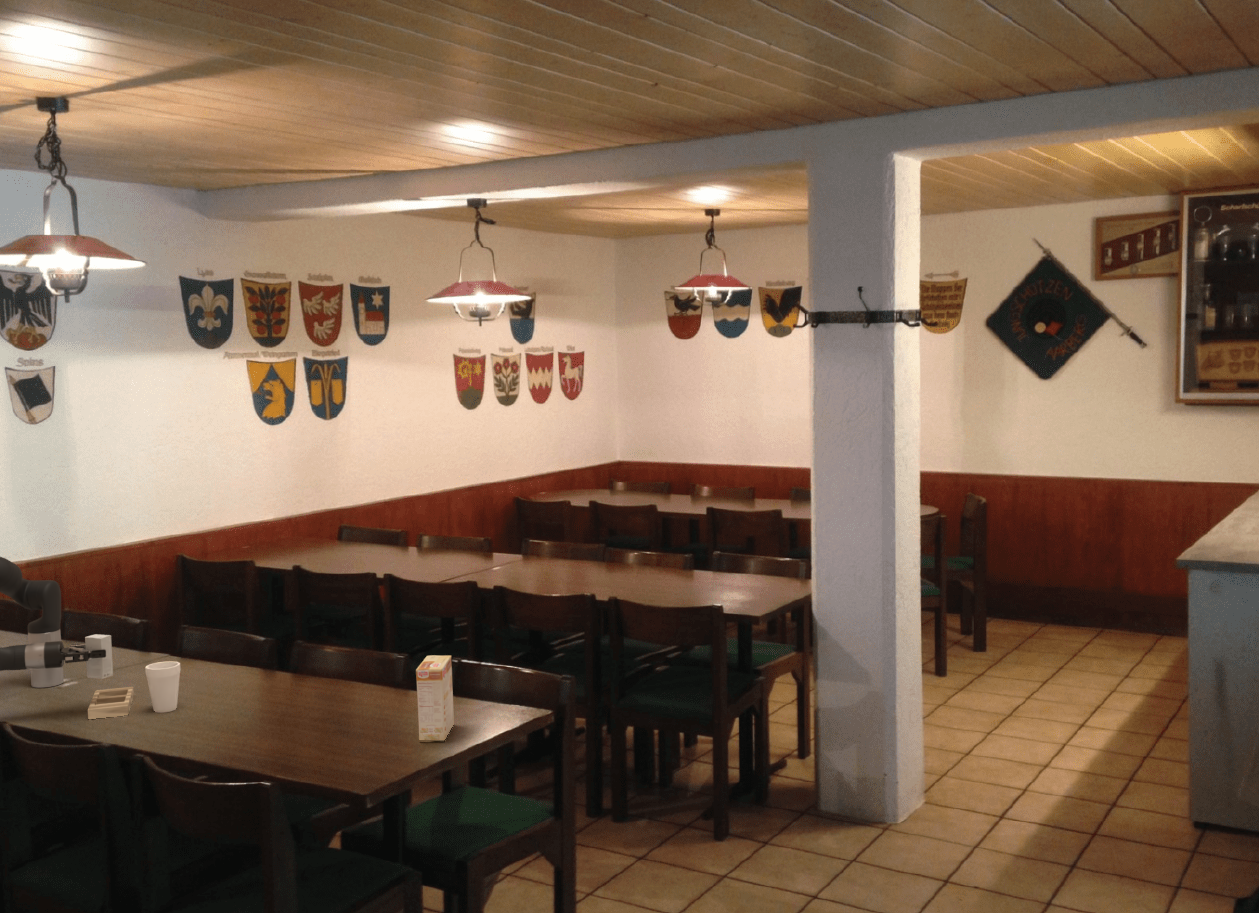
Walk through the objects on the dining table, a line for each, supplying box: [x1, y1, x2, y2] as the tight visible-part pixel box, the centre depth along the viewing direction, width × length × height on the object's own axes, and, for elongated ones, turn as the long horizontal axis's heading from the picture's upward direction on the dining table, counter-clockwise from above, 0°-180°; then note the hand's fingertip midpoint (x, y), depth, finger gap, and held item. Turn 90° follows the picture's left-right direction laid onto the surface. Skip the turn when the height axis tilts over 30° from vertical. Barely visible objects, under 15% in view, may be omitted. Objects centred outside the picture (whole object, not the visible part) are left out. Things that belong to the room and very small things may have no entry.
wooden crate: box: [87, 686, 135, 720], centre depth 352 cm, size 22×10×3 cm, turn 19°
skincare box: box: [84, 633, 114, 680], centre depth 348 cm, size 6×4×12 cm
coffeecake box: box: [415, 654, 455, 741], centre depth 319 cm, size 15×7×20 cm, turn 178°
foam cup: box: [144, 660, 181, 713], centre depth 349 cm, size 10×9×13 cm
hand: (107, 650), depth 349 cm, fingers closed on skincare box, 7 cm apart
